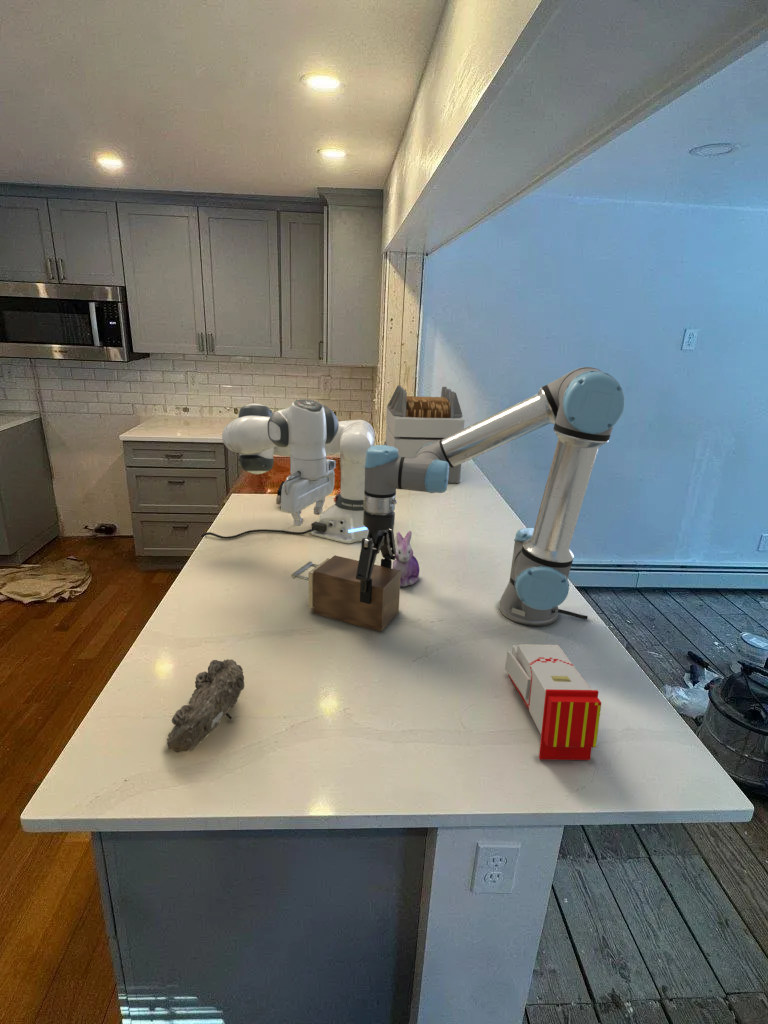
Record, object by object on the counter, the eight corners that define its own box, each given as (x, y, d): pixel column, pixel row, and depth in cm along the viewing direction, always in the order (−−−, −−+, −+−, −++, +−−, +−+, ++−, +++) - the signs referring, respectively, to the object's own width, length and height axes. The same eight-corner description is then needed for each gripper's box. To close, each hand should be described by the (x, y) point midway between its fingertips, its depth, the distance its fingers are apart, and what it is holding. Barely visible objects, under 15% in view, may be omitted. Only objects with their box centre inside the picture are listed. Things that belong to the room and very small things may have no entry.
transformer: (382, 463, 289) (386, 382, 275) (445, 464, 293) (451, 384, 279) (390, 482, 257) (394, 392, 243) (460, 483, 261) (468, 394, 247)
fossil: (192, 660, 117) (244, 628, 112) (224, 691, 120) (276, 661, 115) (142, 746, 98) (202, 712, 93) (182, 779, 101) (242, 748, 96)
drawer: (290, 602, 149) (289, 567, 146) (309, 586, 158) (309, 553, 154) (370, 624, 140) (372, 588, 137) (386, 606, 149) (388, 572, 145)
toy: (554, 627, 126) (611, 698, 97) (548, 682, 129) (602, 767, 99) (500, 626, 125) (540, 697, 96) (495, 681, 128) (534, 767, 99)
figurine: (399, 590, 159) (401, 541, 154) (382, 575, 168) (384, 528, 163) (427, 584, 164) (431, 536, 158) (410, 570, 172) (413, 524, 167)
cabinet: (313, 613, 146) (313, 571, 142) (334, 595, 156) (334, 555, 152) (381, 632, 139) (383, 588, 135) (398, 611, 148) (401, 570, 144)
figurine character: (293, 513, 218) (297, 497, 231) (292, 495, 215) (297, 480, 228) (275, 513, 218) (281, 496, 231) (274, 495, 214) (280, 479, 228)
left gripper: (296, 479, 130) (297, 535, 135) (339, 460, 148) (338, 510, 152) (273, 475, 132) (274, 530, 137) (318, 456, 150) (317, 506, 155)
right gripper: (372, 529, 124) (369, 616, 131) (411, 499, 144) (406, 577, 152) (342, 522, 127) (340, 609, 134) (384, 494, 147) (381, 571, 154)
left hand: (308, 519), depth 145 cm, fingers open, 8 cm apart
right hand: (375, 592), depth 143 cm, fingers closed on cabinet, 11 cm apart
